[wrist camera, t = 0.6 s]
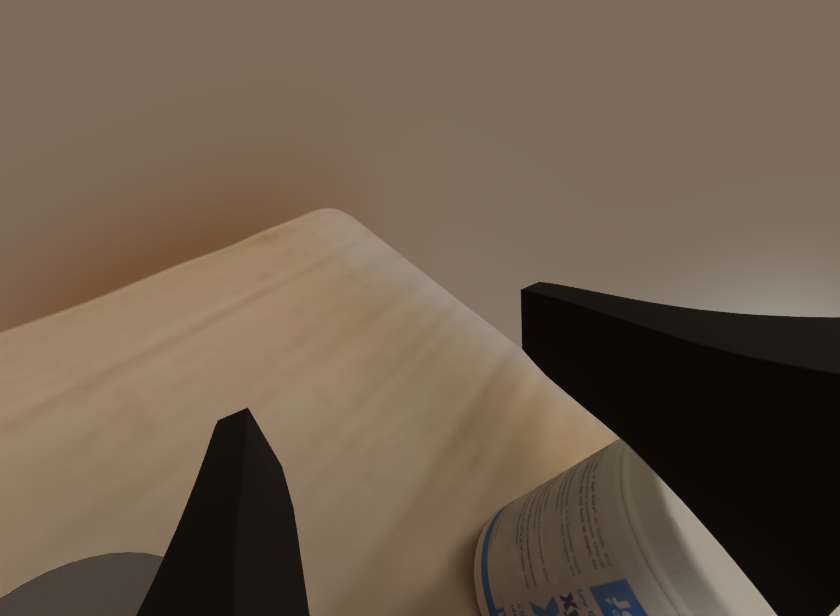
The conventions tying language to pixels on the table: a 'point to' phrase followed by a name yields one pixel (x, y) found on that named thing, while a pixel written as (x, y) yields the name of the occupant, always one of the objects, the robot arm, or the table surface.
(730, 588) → the supplement tub
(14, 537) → the table surface
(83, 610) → the steel pot
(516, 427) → the table surface
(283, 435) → the table surface
